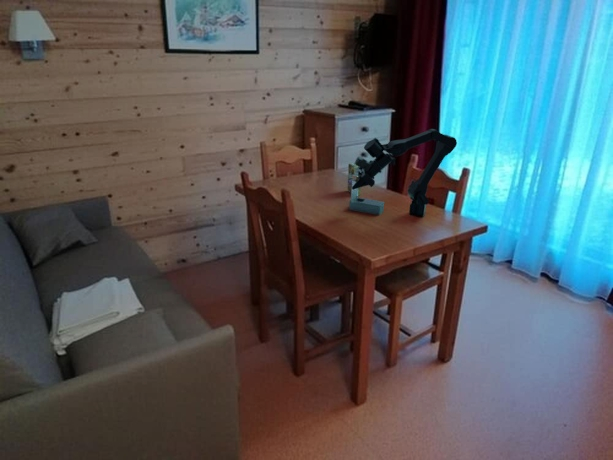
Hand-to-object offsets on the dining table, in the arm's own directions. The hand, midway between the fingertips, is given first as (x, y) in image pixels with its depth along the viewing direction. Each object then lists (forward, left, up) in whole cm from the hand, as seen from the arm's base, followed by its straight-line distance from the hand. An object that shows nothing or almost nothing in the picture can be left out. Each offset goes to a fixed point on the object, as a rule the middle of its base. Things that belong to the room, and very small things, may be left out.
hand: (352, 187), depth 205 cm
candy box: (+11, -34, -14) cm, 38 cm away
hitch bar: (-4, -11, -13) cm, 18 cm away
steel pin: (-1, -1, -7) cm, 7 cm away
